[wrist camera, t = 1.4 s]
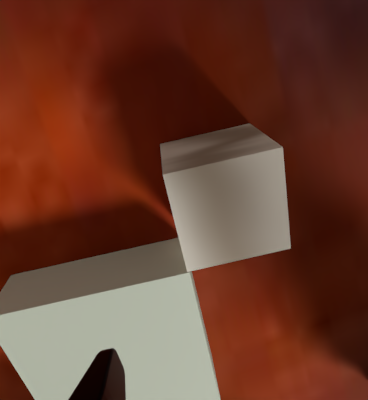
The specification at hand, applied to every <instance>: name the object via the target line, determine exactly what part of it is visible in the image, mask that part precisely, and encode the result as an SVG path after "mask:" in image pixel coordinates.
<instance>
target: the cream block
mask: <svg viewBox="0 0 368 400" xmlns="http://www.w3.org/2000/svg"><path fill="white" fill-rule="evenodd" d="M160 151H161V162H162V174H163V178H164V182H165V186H166V190H167V194H168V198H169V202H170V206H171V210H172V214H173V218H174V222H175V226H176V230H177V234H178V238H179V241H180V245H181V249H182V253H183V257H184V261H185V265H186V269H187V272H190V271H194V270H198V269H203V268H207V267H212V266H216V265H220V264H225V263H229V262H234V261H238V260H242V259H247V258H251V257H256V256H260V255H264V254H269V253H273V252H278V251H282V250H286V249H291V243H290V230H289V218H288V205H287V192H286V179H285V167H284V154H283V147H282V146H281V145H279V144H278V143H276V142H275V141H274V140H272V139H271V138H269V137H268V136H267V135H265V134H264V133H262V132H261V131H260V130H258V129H257V128H256V127H254V126H253V125H251V124H250V123H249V124H244V125H240V126H236V127H231V128H227V129H223V130H218V131H214V132H210V133H205V134H201V135H197V136H192V137H188V138H184V139H179V140H175V141H170V142H166V143H162V144H160Z"/></svg>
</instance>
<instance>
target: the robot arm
mask: <svg viewBox="0 0 368 400" xmlns="http://www.w3.org/2000/svg"><path fill="white" fill-rule="evenodd" d="M68 400H126V390H125V371H124V367H123V365H122V363H121V360H120V358H119V356H118V354H117V351H116V350H115V349H114V348H110V349H105V350H101V351H100V352H99V353H98V354H97V355H96V357H95V358H94V360H93V361H92V363H91V365H90V366H89V368H88V369H87V371H86V372H85V374H84V376H83V377H82V379H81V380H80V382H79V384H78V385H77V387H76V388H75V390H74V391H73V393H72V395H71V396H70V398H69V399H68Z"/></svg>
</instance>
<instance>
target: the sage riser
mask: <svg viewBox="0 0 368 400" xmlns="http://www.w3.org/2000/svg"><path fill="white" fill-rule="evenodd" d="M0 346H1V347H2V349H3V350H4V352H5V353H6V355H7V357H8V358H9V360H10V361H11V363H12V365H13V366H14V368H15V369H16V371H17V372H18V374H19V376H20V377H21V379H22V380H23V382H24V383H25V385H26V387H27V388H28V390H29V391H30V393H31V395H32V396H33V398H34V399H35V400H68V399H69V398H70V396H71V395H72V393H73V391H74V390H75V388H76V387H77V385H78V384H79V382H80V380H81V379H82V377H83V376H84V374H85V372H86V371H87V369H88V368H89V366H90V365H91V363H92V361H93V360H94V358H95V357H96V355H97V354H98V353H99V352H100V351H101V350H105V349H110V348H114V349H115V350H116V351H117V354H118V356H119V358H120V360H121V363H122V365H123V367H124V371H125V390H126V400H221V399H220V394H219V389H218V384H217V379H216V375H215V370H214V365H213V360H212V355H211V351H210V347H209V342H208V338H207V334H206V330H205V325H204V321H203V317H202V313H201V309H200V304H199V300H198V296H197V292H196V288H195V283H194V279H193V275H192V271H190V272H187V269H186V265H185V261H184V257H183V253H182V249H181V245H180V241H179V238H175V239H170V240H166V241H161V242H157V243H152V244H148V245H143V246H139V247H134V248H130V249H125V250H121V251H116V252H112V253H108V254H103V255H99V256H94V257H90V258H85V259H81V260H76V261H72V262H67V263H63V264H58V265H54V266H49V267H45V268H40V269H36V270H32V271H27V272H23V273H18V274H14V275H11V276H10V277H9V279H8V281H7V282H6V284H5V285H4V287H3V289H2V290H1V292H0Z"/></svg>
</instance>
